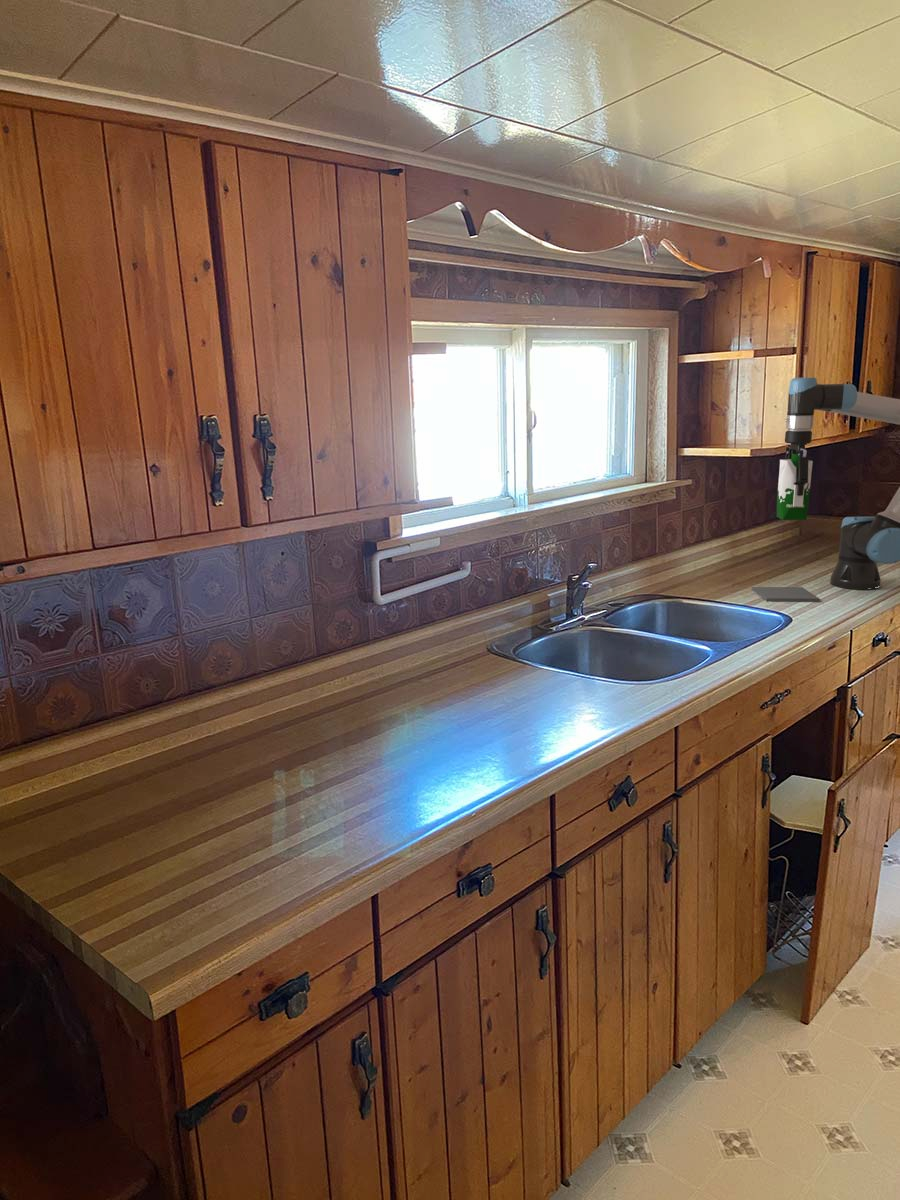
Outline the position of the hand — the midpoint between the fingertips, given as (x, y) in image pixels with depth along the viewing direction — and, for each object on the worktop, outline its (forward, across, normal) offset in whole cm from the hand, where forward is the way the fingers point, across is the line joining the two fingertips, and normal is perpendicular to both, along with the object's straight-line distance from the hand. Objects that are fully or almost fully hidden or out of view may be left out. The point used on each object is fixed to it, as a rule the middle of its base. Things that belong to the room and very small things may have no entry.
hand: (792, 504), depth 259 cm
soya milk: (+5, 0, 0) cm, 5 cm away
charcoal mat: (+29, 0, 0) cm, 29 cm away
